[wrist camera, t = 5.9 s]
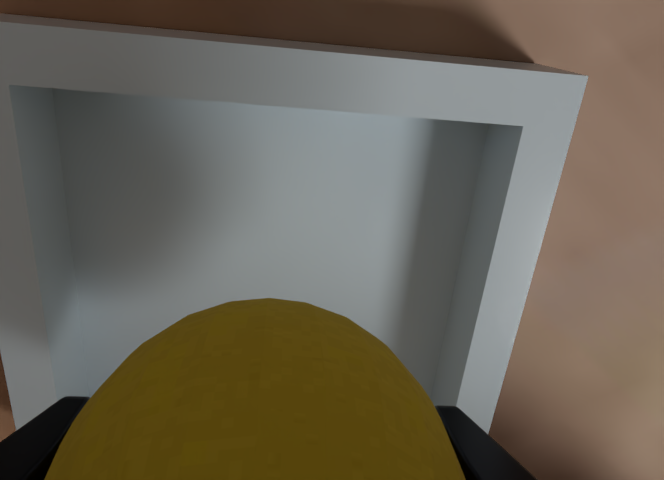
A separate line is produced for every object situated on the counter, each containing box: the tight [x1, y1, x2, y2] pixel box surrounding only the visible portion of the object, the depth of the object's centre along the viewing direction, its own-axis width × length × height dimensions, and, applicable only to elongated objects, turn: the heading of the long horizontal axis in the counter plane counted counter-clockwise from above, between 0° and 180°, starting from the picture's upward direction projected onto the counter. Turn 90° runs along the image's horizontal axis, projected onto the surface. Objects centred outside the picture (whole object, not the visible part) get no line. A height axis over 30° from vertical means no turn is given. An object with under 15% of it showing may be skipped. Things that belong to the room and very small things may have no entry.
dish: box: [0, 13, 588, 434], centre depth 12 cm, size 11×11×2 cm
